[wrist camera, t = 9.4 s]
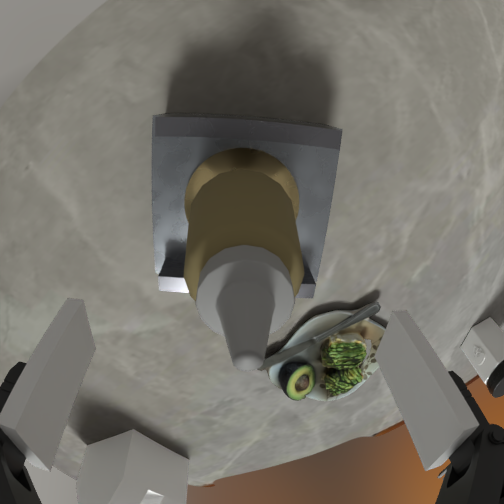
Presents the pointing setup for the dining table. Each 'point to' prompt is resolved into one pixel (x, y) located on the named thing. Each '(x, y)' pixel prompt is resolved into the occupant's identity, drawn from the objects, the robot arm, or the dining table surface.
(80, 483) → the white notched stand
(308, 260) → the grey rimmed block
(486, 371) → the jar
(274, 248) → the squeeze bottle
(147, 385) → the dining table surface
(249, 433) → the dining table surface
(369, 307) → the avocado toast plate
